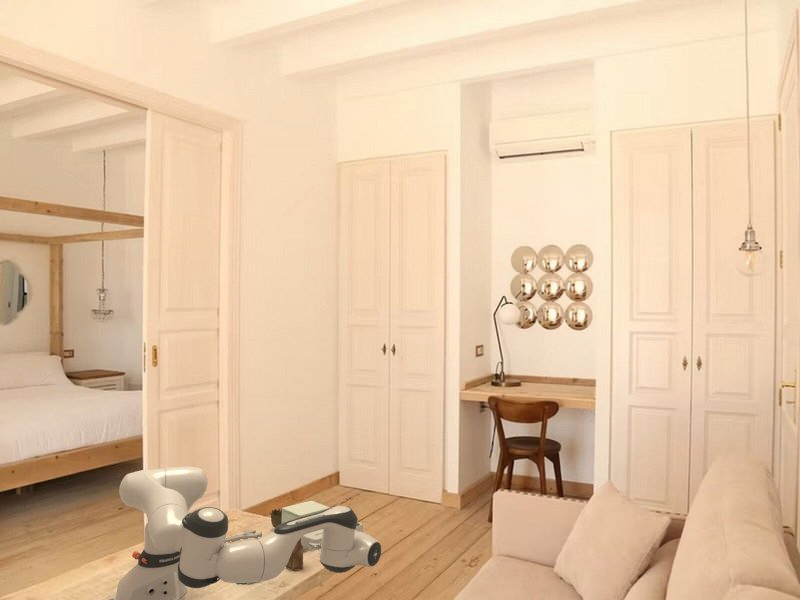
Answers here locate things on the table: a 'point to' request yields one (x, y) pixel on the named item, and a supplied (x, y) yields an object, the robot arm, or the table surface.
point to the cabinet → (301, 511)
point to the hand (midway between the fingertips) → (316, 528)
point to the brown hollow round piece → (276, 517)
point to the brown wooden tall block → (296, 557)
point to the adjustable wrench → (244, 536)
